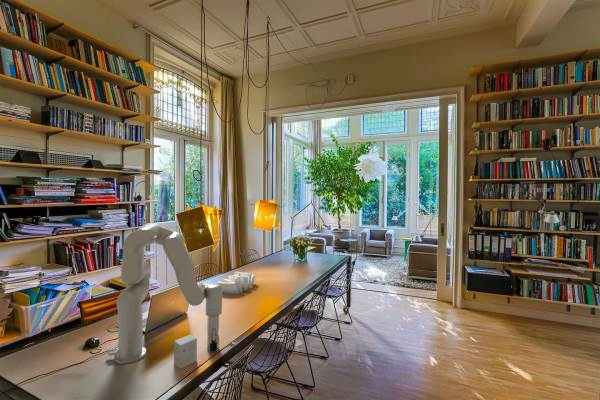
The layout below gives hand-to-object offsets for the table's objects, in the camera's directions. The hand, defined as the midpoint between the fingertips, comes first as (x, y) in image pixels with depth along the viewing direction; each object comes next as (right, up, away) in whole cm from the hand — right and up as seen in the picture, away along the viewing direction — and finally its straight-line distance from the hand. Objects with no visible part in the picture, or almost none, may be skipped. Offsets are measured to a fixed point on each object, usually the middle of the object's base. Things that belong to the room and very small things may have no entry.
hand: (213, 347), depth 139 cm
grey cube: (0, -1, 0) cm, 1 cm away
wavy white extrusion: (-7, +1, +86) cm, 87 cm away
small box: (-9, -1, -11) cm, 14 cm away
